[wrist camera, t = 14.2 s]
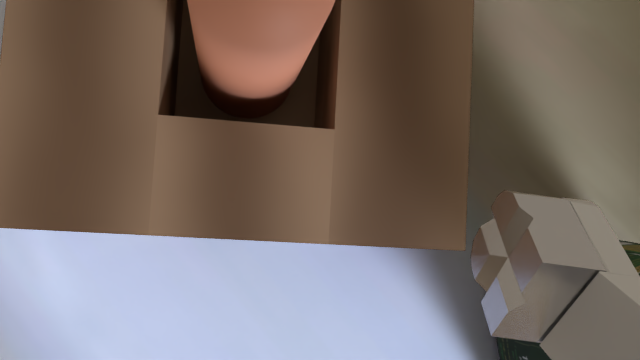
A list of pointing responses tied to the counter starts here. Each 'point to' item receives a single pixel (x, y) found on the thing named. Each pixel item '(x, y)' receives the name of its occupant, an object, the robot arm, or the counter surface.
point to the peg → (253, 49)
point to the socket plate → (237, 128)
